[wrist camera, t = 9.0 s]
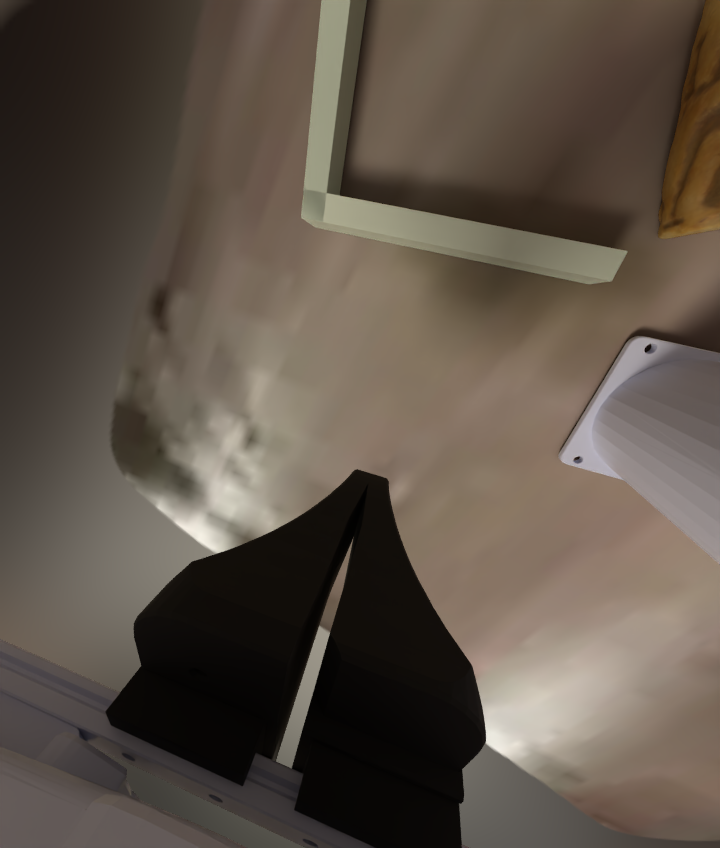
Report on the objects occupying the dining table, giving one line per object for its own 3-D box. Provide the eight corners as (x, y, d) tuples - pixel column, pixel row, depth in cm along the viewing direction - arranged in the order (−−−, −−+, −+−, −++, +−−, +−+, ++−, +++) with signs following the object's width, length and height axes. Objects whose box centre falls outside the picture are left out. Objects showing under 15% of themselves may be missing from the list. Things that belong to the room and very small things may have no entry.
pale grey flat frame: (854, -242, 8) (972, -393, 7) (588, 284, 14) (611, 281, 13) (368, -245, 10) (356, -365, 8) (315, 227, 16) (301, 217, 14)
